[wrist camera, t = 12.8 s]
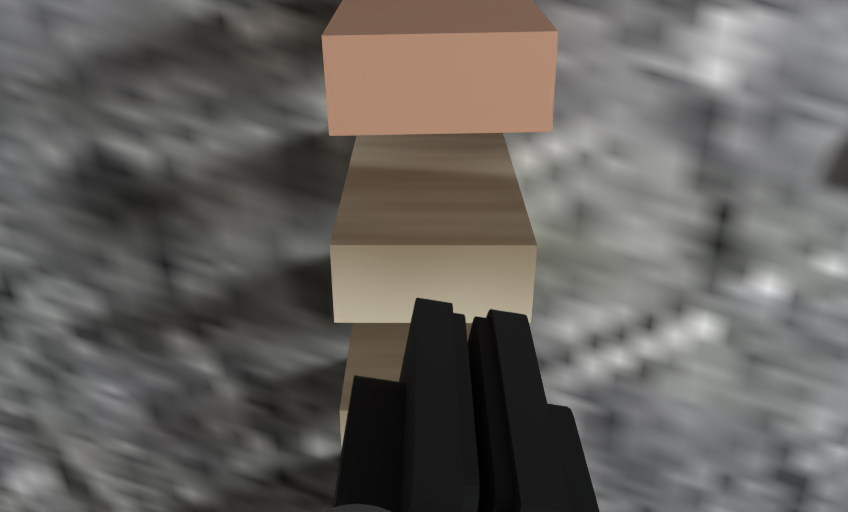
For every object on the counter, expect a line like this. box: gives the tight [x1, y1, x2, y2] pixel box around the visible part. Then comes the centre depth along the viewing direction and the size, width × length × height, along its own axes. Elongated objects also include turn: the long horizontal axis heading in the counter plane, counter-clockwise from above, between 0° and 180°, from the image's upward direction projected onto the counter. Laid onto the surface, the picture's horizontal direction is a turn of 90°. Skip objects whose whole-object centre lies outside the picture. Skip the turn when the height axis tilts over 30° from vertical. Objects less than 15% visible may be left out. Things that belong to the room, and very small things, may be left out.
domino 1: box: [322, 0, 558, 136], centre depth 21 cm, size 2×5×10 cm, turn 91°
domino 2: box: [330, 133, 537, 323], centre depth 23 cm, size 2×5×10 cm, turn 90°
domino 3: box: [339, 323, 472, 446], centre depth 26 cm, size 2×5×10 cm, turn 90°
